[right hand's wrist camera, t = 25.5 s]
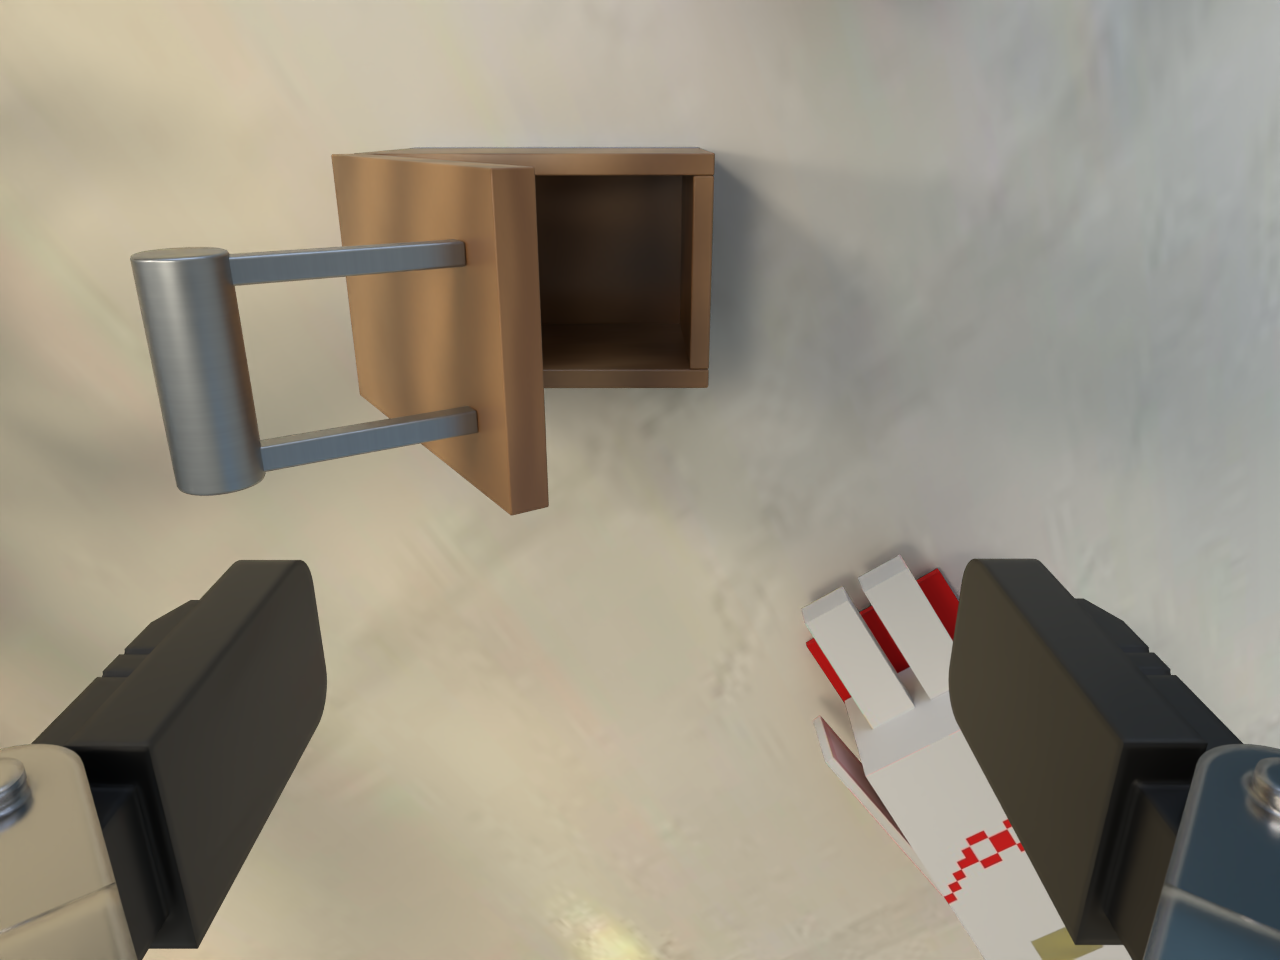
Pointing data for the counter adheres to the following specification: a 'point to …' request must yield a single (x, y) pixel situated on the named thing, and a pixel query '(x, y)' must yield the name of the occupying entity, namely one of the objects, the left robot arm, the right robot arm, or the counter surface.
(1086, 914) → the right robot arm
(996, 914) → the toy
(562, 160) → the chest
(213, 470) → the lid
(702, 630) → the counter surface
